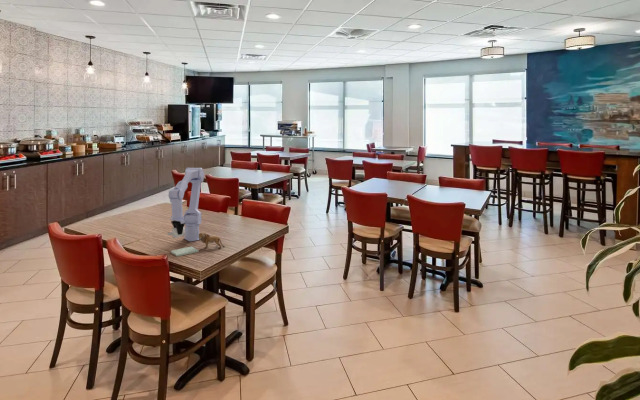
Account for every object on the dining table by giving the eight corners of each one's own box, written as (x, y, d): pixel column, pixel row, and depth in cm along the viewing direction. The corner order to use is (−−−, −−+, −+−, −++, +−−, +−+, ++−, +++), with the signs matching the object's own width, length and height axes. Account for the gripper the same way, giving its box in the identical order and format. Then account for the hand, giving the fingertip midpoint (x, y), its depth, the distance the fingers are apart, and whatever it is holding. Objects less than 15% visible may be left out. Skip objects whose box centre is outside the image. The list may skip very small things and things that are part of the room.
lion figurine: (197, 249, 227) (196, 233, 225) (200, 246, 232) (199, 231, 230) (223, 248, 227) (223, 233, 225) (225, 246, 232) (225, 231, 231)
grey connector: (167, 237, 224) (166, 229, 224) (183, 234, 231) (183, 226, 230) (169, 238, 222) (168, 230, 221) (185, 235, 228) (185, 227, 227)
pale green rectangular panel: (170, 252, 220) (170, 250, 220) (191, 248, 228) (191, 246, 228) (177, 256, 214) (177, 254, 214) (198, 251, 221) (198, 250, 221)
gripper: (165, 209, 227) (167, 232, 230) (175, 213, 216) (176, 237, 219) (177, 207, 232) (179, 230, 234) (187, 211, 221) (189, 235, 224)
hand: (178, 233), depth 227 cm, fingers closed on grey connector, 3 cm apart
